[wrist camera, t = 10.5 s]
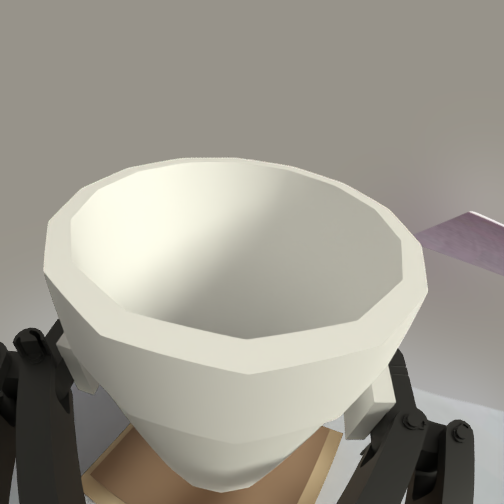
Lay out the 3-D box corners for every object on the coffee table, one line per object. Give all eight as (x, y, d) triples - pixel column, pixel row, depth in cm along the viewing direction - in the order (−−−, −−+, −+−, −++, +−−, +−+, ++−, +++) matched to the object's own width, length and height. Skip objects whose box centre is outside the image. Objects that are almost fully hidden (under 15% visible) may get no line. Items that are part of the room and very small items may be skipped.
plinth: (82, 490, 16) (60, 474, 14) (185, 375, 28) (182, 345, 25) (260, 592, 11) (270, 598, 9) (335, 442, 23) (353, 419, 21)
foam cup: (276, 362, 20) (322, 161, 13) (333, 490, 12) (497, 304, 5) (127, 380, 17) (83, 163, 10) (144, 527, 10) (-17, 384, 3)
